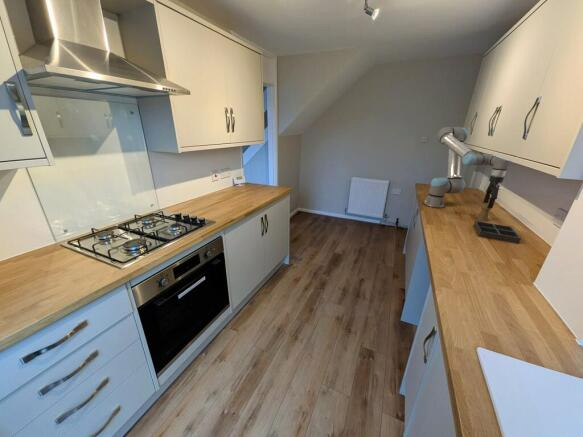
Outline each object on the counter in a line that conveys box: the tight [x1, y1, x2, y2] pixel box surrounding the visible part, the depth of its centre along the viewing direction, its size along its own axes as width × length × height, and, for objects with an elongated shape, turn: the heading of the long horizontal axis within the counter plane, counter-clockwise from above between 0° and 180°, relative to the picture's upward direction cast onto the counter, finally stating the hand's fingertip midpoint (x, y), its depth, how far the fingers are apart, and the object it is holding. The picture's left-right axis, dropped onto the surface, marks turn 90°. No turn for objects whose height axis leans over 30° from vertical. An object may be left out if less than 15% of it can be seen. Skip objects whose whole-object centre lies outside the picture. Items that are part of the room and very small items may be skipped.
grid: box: [473, 220, 522, 245], centre depth 151 cm, size 19×19×4 cm
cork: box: [476, 204, 492, 222], centre depth 173 cm, size 6×6×11 cm
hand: (487, 205), depth 170 cm, fingers open, 13 cm apart
